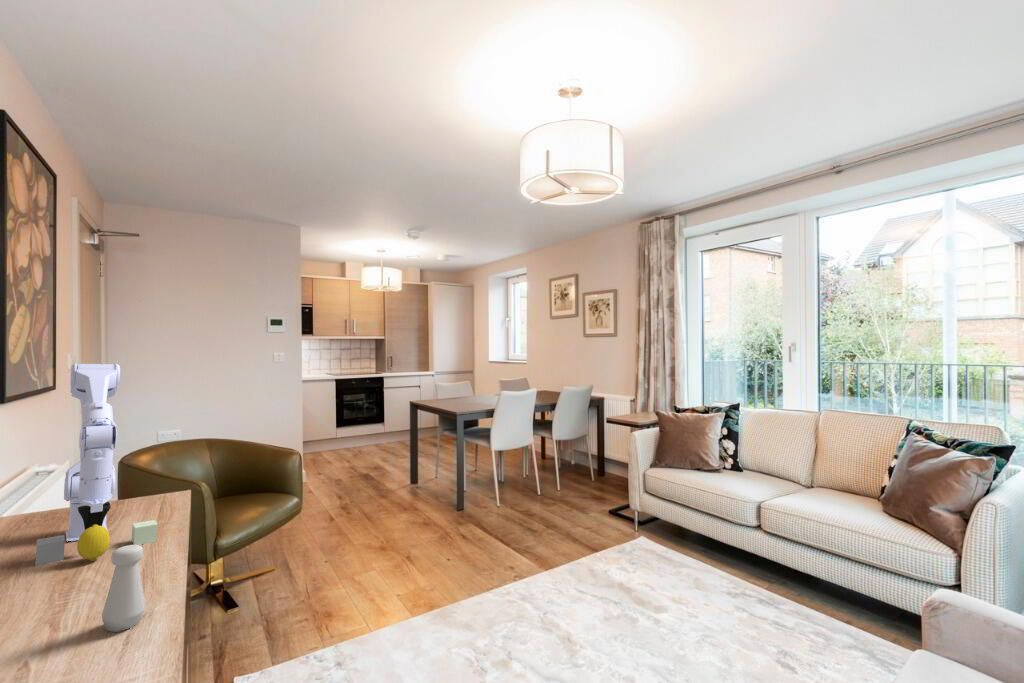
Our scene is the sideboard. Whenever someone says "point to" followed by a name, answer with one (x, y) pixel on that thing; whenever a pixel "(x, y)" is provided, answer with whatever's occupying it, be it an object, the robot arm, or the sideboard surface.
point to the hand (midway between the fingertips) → (92, 537)
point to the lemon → (93, 542)
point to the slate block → (50, 550)
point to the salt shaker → (125, 590)
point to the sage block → (144, 532)
